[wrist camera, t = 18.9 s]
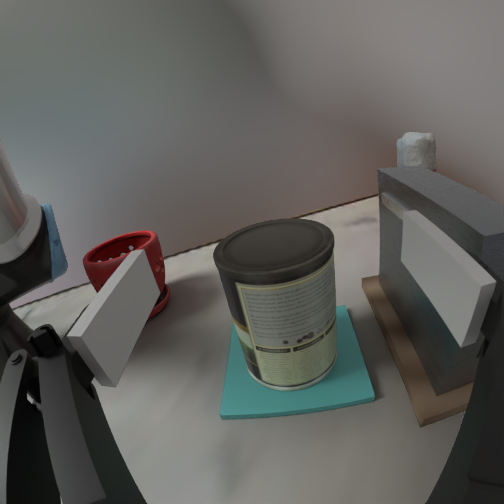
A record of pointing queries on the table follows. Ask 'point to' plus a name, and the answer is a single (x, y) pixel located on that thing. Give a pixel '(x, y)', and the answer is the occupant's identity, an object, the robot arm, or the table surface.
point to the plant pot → (114, 248)
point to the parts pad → (305, 400)
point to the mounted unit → (413, 297)
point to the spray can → (417, 150)
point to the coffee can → (282, 300)
